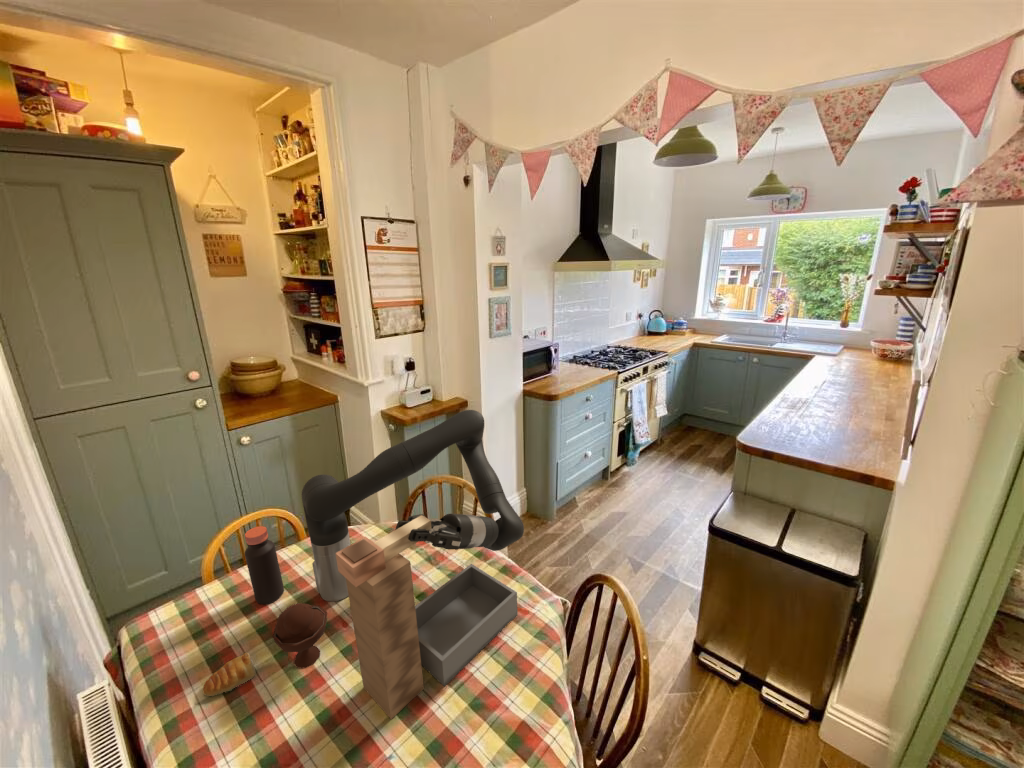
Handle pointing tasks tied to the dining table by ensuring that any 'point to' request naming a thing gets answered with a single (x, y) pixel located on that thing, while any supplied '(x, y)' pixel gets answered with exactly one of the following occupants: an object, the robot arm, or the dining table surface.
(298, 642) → the ice cream bowl
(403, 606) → the tower
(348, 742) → the dining table surface
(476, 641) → the bin
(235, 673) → the pastry
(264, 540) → the bottle
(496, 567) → the dining table surface
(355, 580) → the catapult arm
